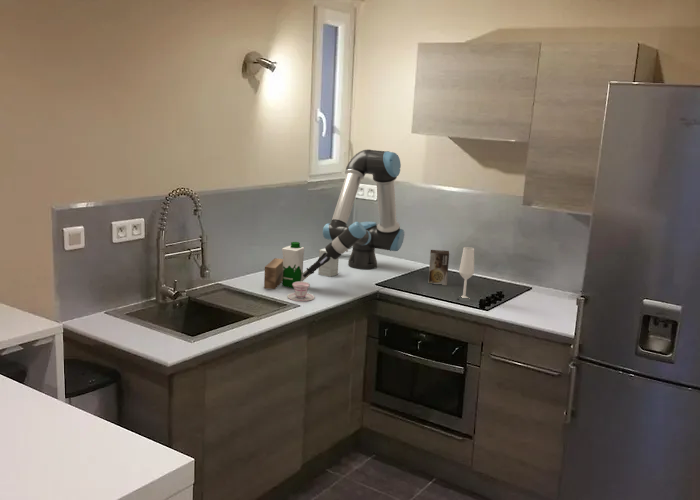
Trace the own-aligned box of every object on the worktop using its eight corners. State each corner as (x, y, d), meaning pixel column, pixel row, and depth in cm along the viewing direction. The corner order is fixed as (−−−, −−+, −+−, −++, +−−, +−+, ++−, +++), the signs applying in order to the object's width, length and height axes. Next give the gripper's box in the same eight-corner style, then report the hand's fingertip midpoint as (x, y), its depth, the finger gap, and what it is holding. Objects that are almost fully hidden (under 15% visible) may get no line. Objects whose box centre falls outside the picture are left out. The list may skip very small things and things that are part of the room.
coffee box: (446, 282, 346) (449, 250, 342) (446, 285, 340) (449, 253, 336) (427, 280, 347) (430, 249, 343) (427, 284, 340) (430, 252, 337)
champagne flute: (453, 297, 321) (458, 246, 316) (466, 297, 323) (472, 246, 318) (460, 302, 315) (465, 250, 309) (473, 301, 317) (479, 249, 311)
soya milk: (305, 284, 327) (306, 243, 322) (295, 289, 319) (296, 246, 314) (288, 282, 330) (289, 240, 326) (279, 286, 322) (279, 244, 318)
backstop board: (284, 279, 334) (285, 259, 332) (274, 289, 318) (275, 267, 316) (274, 278, 335) (274, 258, 333) (264, 288, 319) (264, 266, 316)
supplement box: (338, 274, 349) (339, 249, 346) (329, 277, 343) (331, 252, 340) (326, 271, 353) (327, 247, 350) (317, 274, 347) (318, 249, 344)
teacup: (287, 293, 314) (287, 280, 312) (313, 293, 315) (314, 280, 313) (287, 301, 302) (288, 287, 301) (315, 302, 303) (315, 288, 302)
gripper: (339, 257, 312) (301, 289, 318) (344, 251, 324) (307, 282, 330) (328, 245, 311) (290, 277, 317) (333, 239, 324) (297, 270, 330)
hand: (299, 280), depth 324 cm, fingers closed
